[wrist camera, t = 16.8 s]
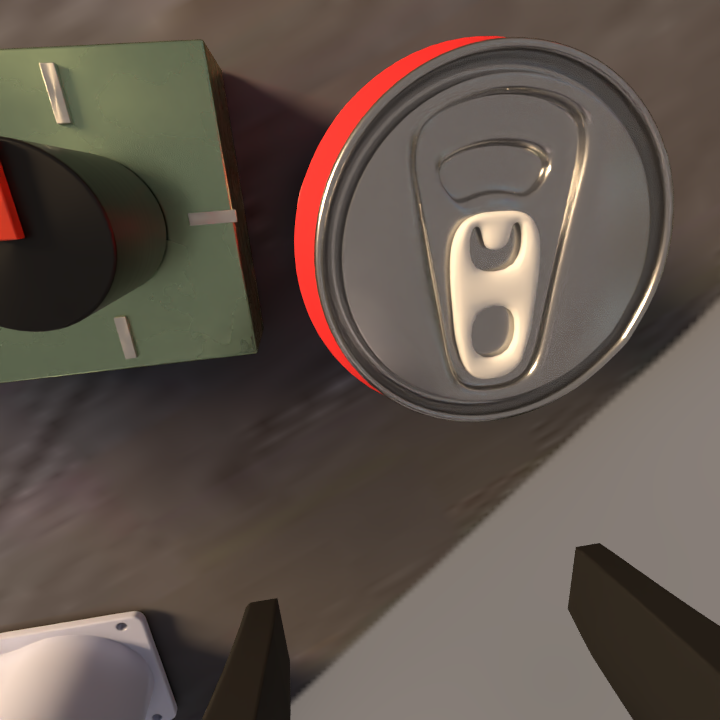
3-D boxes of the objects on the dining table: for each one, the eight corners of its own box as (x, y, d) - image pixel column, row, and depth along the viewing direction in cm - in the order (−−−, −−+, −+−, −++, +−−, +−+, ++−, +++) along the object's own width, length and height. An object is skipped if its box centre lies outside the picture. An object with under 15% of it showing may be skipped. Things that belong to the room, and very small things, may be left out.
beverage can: (430, 134, 16) (737, -6, 5) (433, 276, 18) (658, 413, 7) (287, 145, 15) (260, 20, 4) (306, 290, 17) (320, 462, 6)
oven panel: (0, 358, 17) (-64, 392, 14) (-110, 86, 13) (-223, 56, 11) (266, 328, 18) (260, 355, 15) (224, 68, 14) (205, 36, 12)
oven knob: (179, 289, 14) (131, 327, 10) (44, 300, 13) (-64, 346, 9) (150, 148, 12) (79, 127, 8) (-3, 156, 12) (-153, 137, 8)
